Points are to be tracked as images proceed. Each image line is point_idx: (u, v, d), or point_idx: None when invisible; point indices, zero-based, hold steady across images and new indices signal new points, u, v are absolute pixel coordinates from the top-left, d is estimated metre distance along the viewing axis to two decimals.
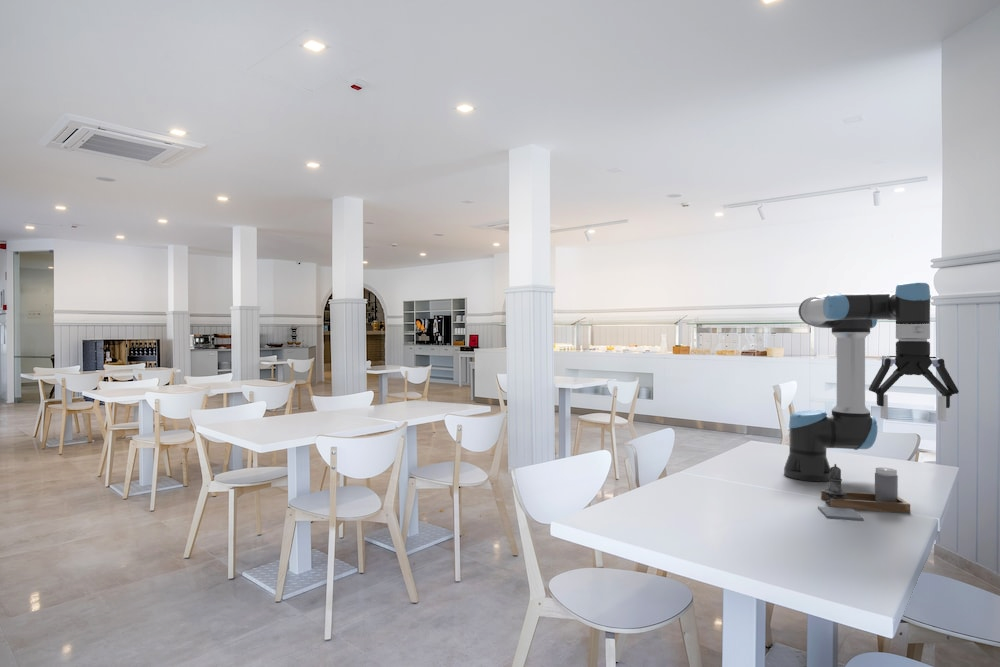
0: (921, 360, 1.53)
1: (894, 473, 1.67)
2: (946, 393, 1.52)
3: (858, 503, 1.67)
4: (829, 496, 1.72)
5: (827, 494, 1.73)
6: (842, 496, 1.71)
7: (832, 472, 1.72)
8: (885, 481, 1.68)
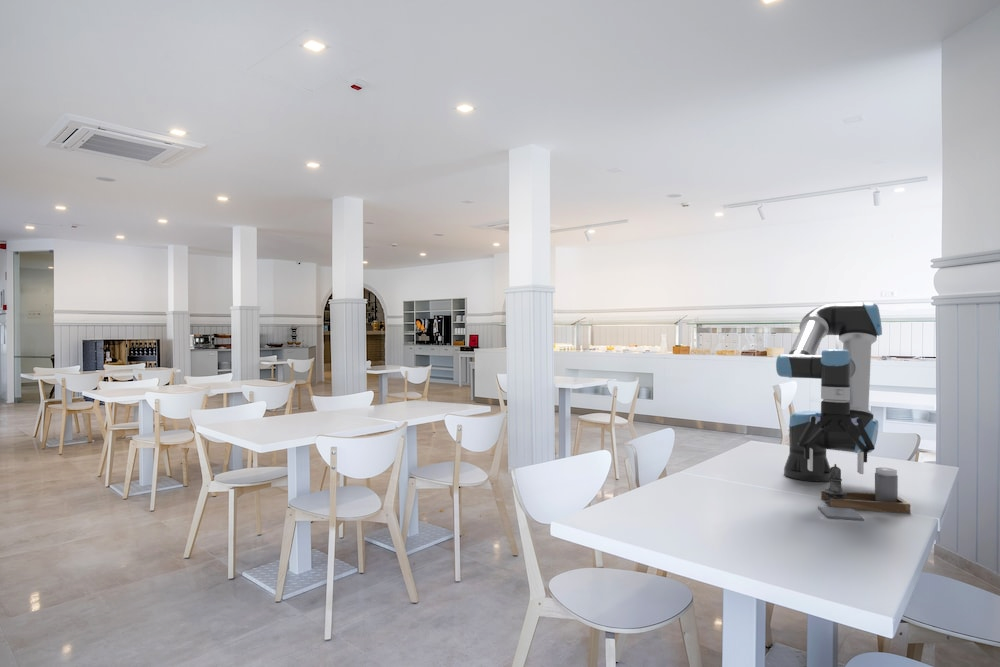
0: (842, 419, 1.72)
1: (894, 473, 1.67)
2: (864, 449, 1.70)
3: (858, 503, 1.67)
4: (829, 496, 1.72)
5: (827, 494, 1.73)
6: (842, 496, 1.71)
7: (832, 472, 1.72)
8: (885, 481, 1.68)
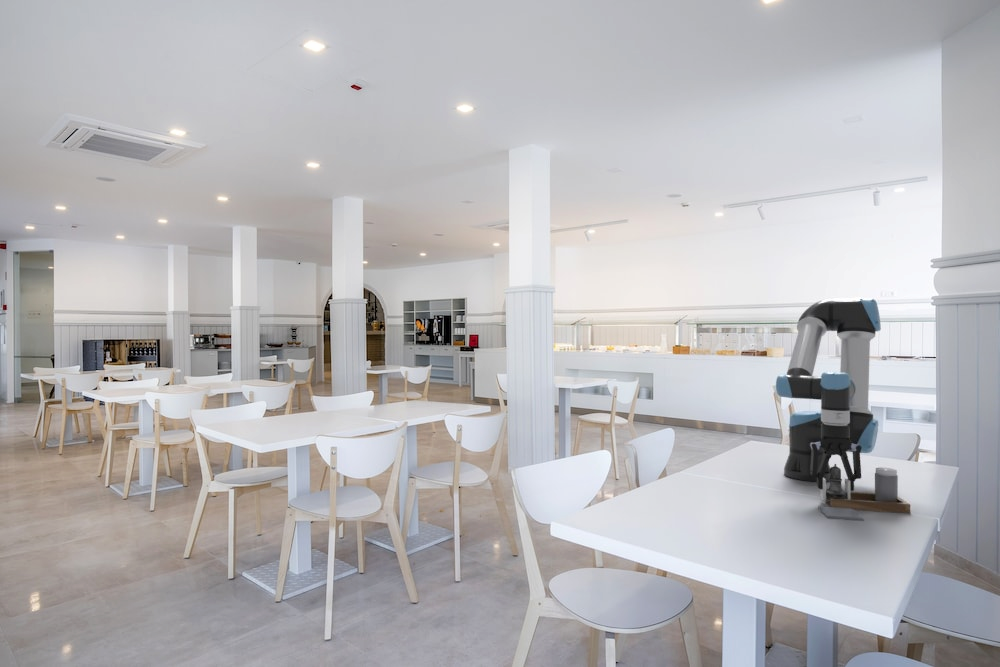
0: (843, 440, 1.72)
1: (894, 473, 1.67)
2: (851, 477, 1.71)
3: (858, 503, 1.67)
4: (829, 496, 1.72)
5: (827, 494, 1.73)
6: (842, 496, 1.71)
7: (832, 472, 1.72)
8: (885, 481, 1.68)
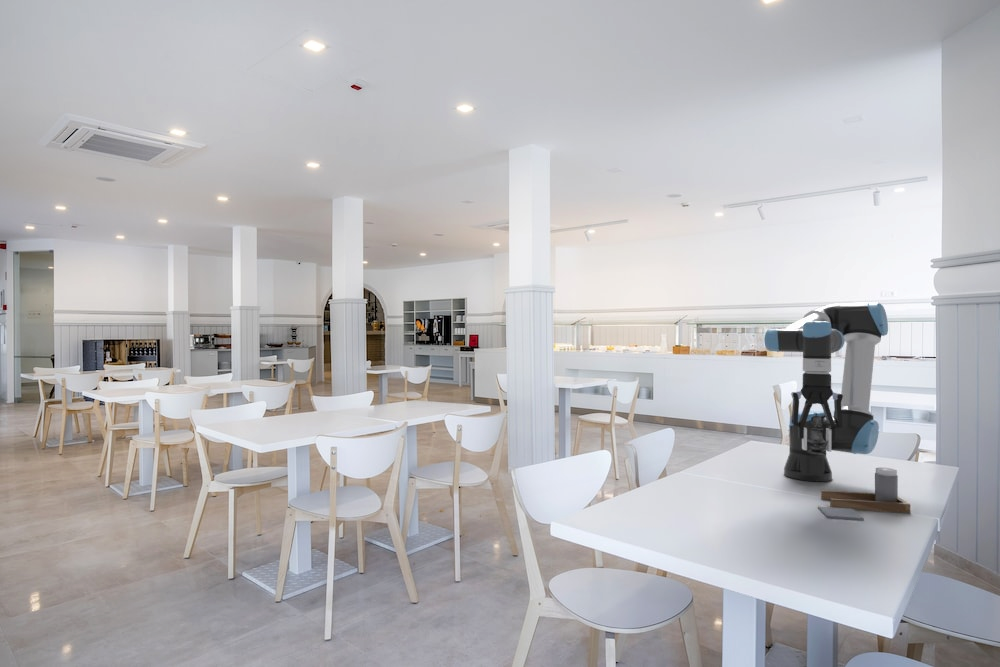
0: (824, 389, 1.71)
1: (894, 473, 1.67)
2: (832, 426, 1.70)
3: (858, 503, 1.67)
4: (810, 445, 1.72)
5: (808, 443, 1.72)
6: (823, 445, 1.70)
7: (813, 421, 1.72)
8: (885, 481, 1.68)
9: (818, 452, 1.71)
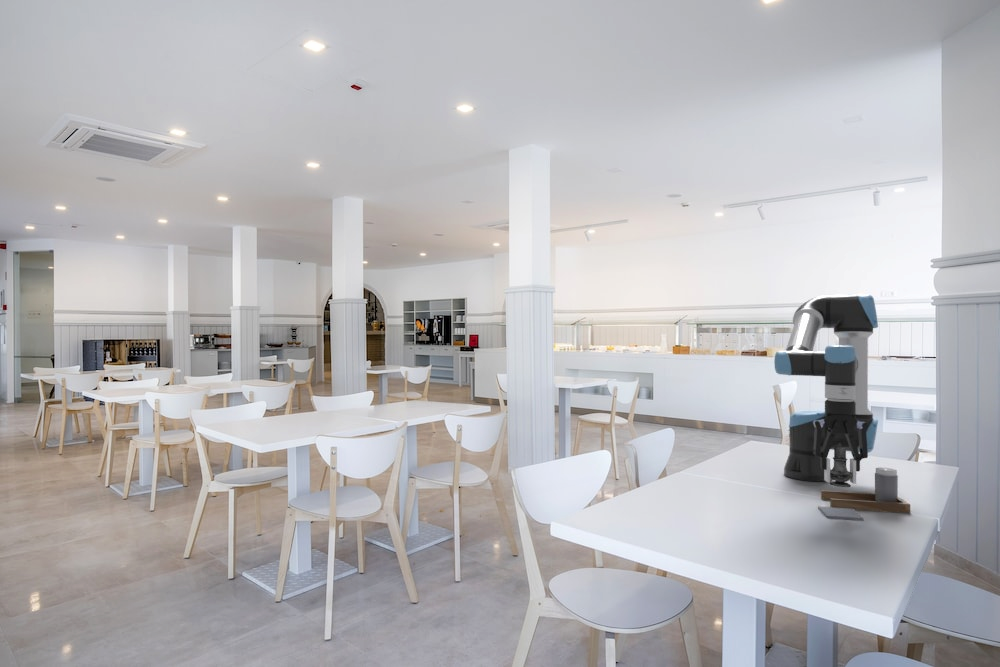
0: (848, 417, 1.61)
1: (894, 473, 1.67)
2: (856, 457, 1.61)
3: (858, 503, 1.67)
4: (833, 477, 1.62)
5: (831, 475, 1.62)
6: (847, 476, 1.60)
7: (837, 451, 1.62)
8: (885, 481, 1.68)
9: (842, 484, 1.61)
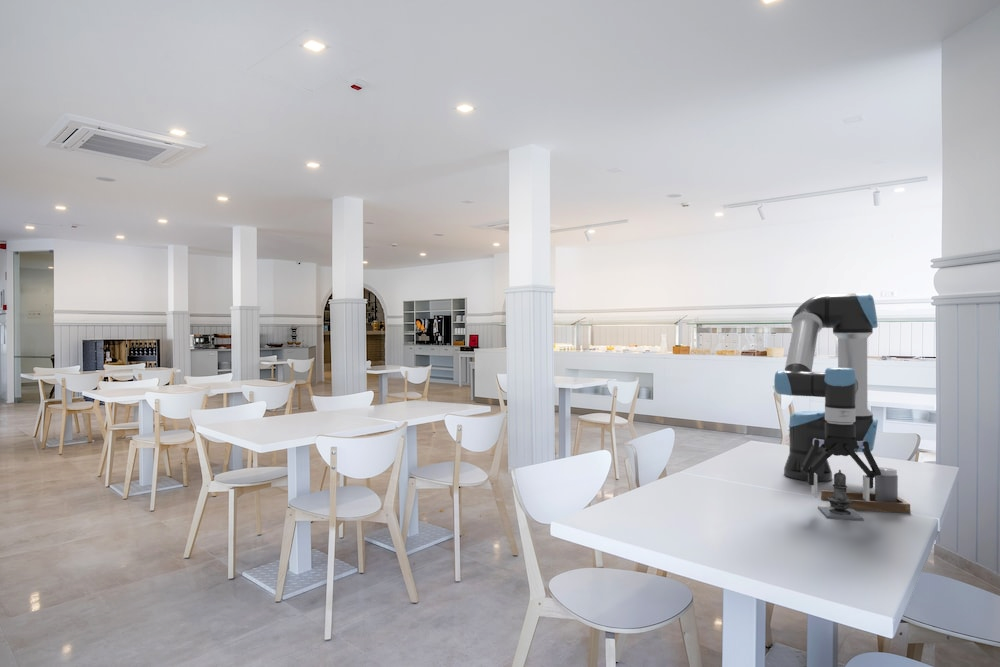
0: (847, 442, 1.61)
1: (894, 473, 1.67)
2: (869, 474, 1.60)
3: (858, 503, 1.67)
4: (833, 504, 1.62)
5: (831, 502, 1.63)
6: (847, 504, 1.60)
7: (836, 478, 1.62)
8: (885, 481, 1.68)
9: (842, 512, 1.61)
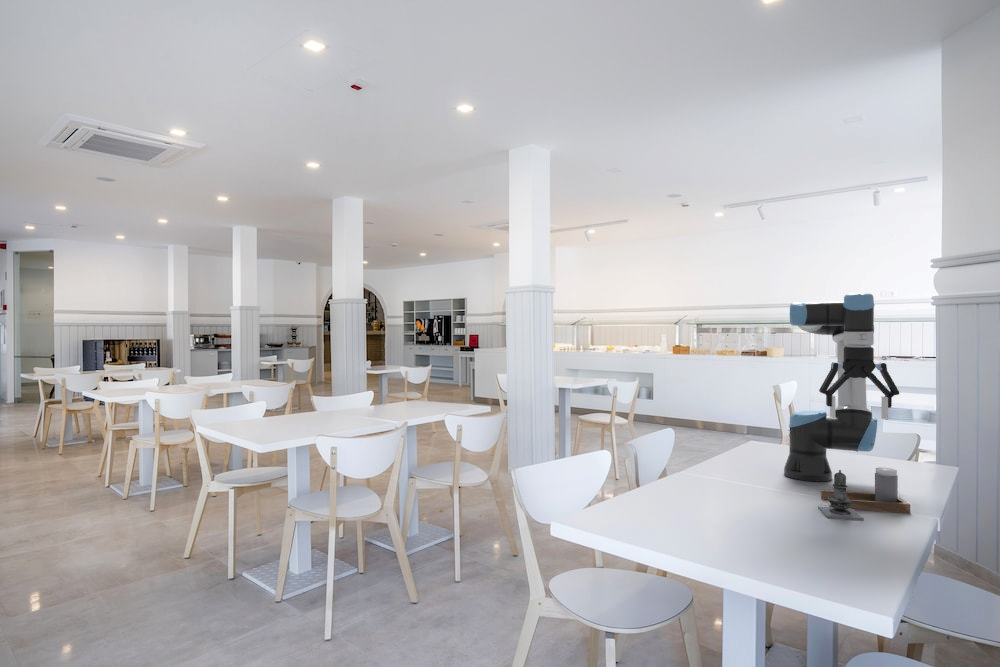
0: (865, 364, 1.68)
1: (894, 473, 1.67)
2: (888, 394, 1.66)
3: (858, 503, 1.67)
4: (833, 504, 1.62)
5: (831, 502, 1.63)
6: (847, 504, 1.60)
7: (837, 478, 1.62)
8: (885, 481, 1.68)
9: (842, 512, 1.61)
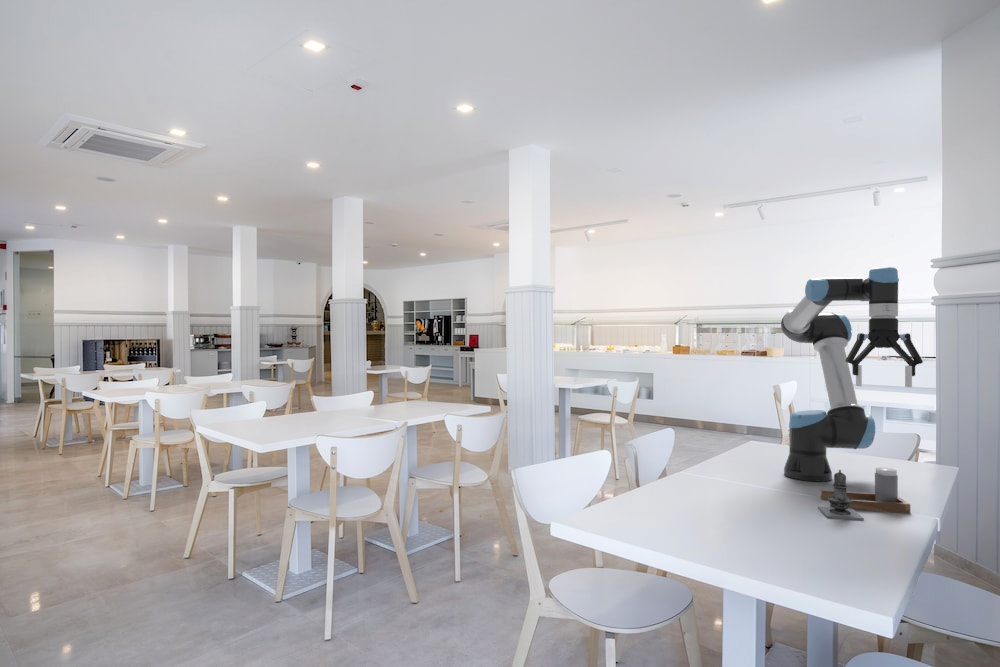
0: (890, 335, 1.77)
1: (894, 473, 1.67)
2: (912, 363, 1.75)
3: (858, 503, 1.67)
4: (833, 504, 1.62)
5: (831, 502, 1.63)
6: (847, 504, 1.60)
7: (836, 478, 1.62)
8: (885, 481, 1.68)
9: (842, 512, 1.61)
